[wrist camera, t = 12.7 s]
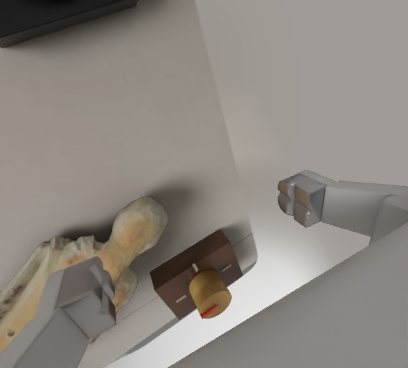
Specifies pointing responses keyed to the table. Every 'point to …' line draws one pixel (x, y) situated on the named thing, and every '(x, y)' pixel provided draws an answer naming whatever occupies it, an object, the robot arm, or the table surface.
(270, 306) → the robot arm
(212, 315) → the dimmer knob
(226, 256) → the dimmer panel
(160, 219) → the statue
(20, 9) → the switch box
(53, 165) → the table surface
